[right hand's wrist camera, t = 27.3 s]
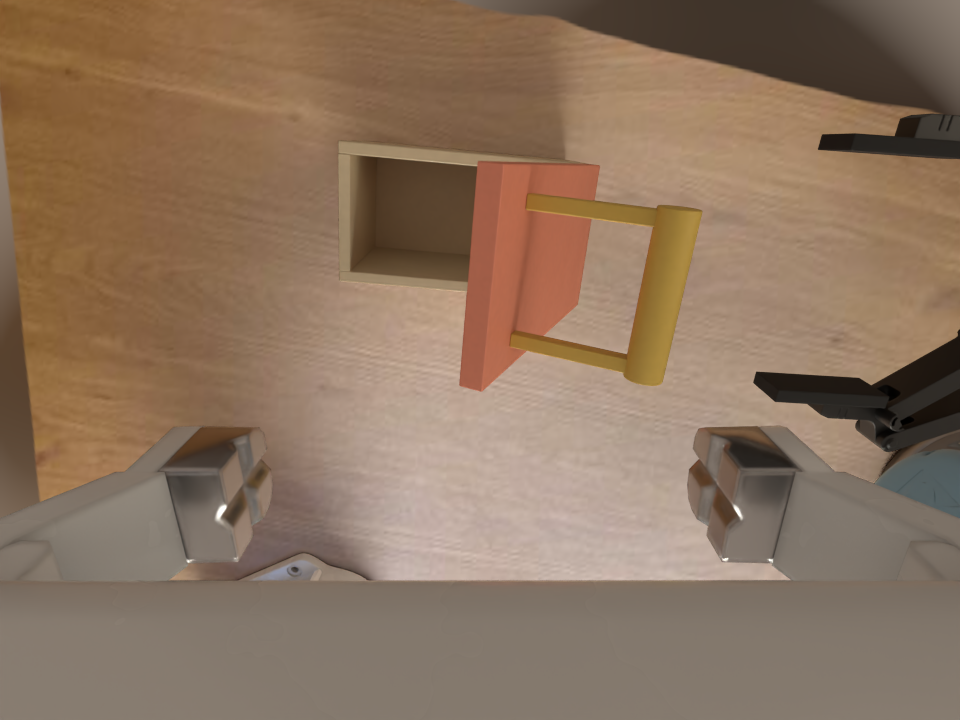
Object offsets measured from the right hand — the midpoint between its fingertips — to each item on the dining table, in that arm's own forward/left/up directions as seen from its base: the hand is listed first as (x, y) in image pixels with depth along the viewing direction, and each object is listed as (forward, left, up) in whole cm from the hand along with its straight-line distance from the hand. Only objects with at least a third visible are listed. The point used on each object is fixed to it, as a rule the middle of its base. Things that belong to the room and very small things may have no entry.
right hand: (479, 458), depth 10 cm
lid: (+3, -1, -22) cm, 22 cm away
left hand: (+17, -6, -21) cm, 27 cm away
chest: (-1, +1, -41) cm, 41 cm away
